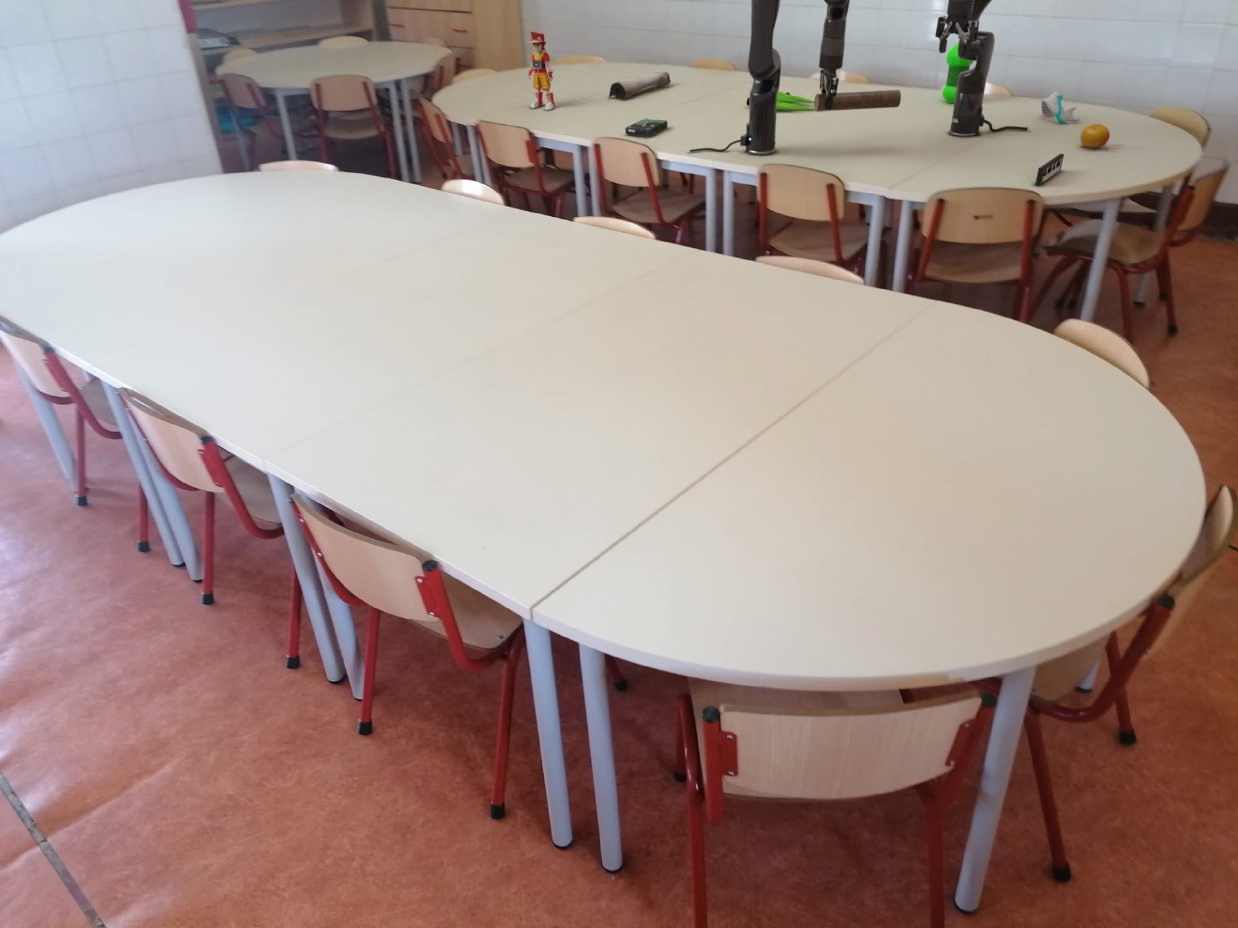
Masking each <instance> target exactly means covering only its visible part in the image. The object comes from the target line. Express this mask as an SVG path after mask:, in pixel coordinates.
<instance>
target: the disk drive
mask: <svg viewBox="0 0 1238 928" xmlns="http://www.w3.org/2000/svg"><path fill="white" fill-rule="evenodd" d="M667 128H668V120H663V119H652V118H651V119H650V118H643V119H640V120H639V121H636V122H634V123H633V124H630V125H628V126H626V127H625V129H624V130H625V135H629V136H637V137H651V136H653V135H655V134H657V133H659V132H661V131H663V130H665V129H667Z"/></svg>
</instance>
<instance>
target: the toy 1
mask: <svg viewBox="0 0 1238 928" xmlns="http://www.w3.org/2000/svg"><path fill="white" fill-rule="evenodd" d="M529 33H530V35H531V36H528V37H527V38H528V39H529V40H528V41H527V43H529V44H530V43H531V44H532V48H533V50H534V51H533V52H532V55H531V58H530V59H531V63H530V66H528V74H527V75H528V76H527V77H528V79H529V80H531V75H532V74H533V84H532V85H533V86H532V87H533V88H534V89H535V90H536V92H534V95H535V97H536V100H535V101H533V102H531V105H530V108H531V109H535V108H538V107H542V106H544V101H543V100H544V99H543V95H544V92H546V94H545V97H546V99H547V103H546V104H545V106H544V110H546V111H549V110H553V109H554V107H555V106H556V105H555V99H554V92H551V91H550V90H551V86H552V84H551V82H552V81H553V80H554V77H553V73H554V71H555V70H554V69H552V68H551V63H550V61H551V59H550V58H551V57H550V54H549V53H548V52H547V50H546V48H545V46H546V44H547V41H545V35H544V33H543V32H542V33H539V32H535V31H529Z"/></svg>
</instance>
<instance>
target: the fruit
mask: <svg viewBox="0 0 1238 928" xmlns="http://www.w3.org/2000/svg"><path fill="white" fill-rule="evenodd" d="M1110 135H1111V134H1110V130H1109V128H1108V127H1107V126H1106V125H1103V124H1101V123H1100V124H1099V123H1098V124H1097V123H1094V124H1090V125H1088V126H1086V127H1084V128H1083V130H1082V131H1081V133H1080V137H1079V139H1080V143H1081V146H1083V147H1085V148H1089V149H1100V148H1101V147H1104V146H1105V145H1106V144H1107V143H1108V141H1109V139H1110V138H1111V137H1110Z"/></svg>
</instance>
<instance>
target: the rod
mask: <svg viewBox="0 0 1238 928" xmlns="http://www.w3.org/2000/svg"><path fill="white" fill-rule="evenodd" d="M901 100H902V93H901V90H900V89H889V90H888V89H887V90H870V91H869V90H867V91H866V90H865V91H848V92H837V93H836V97H833V105H832V109H825V104H826V94H821V93H816V94H815V96H814V100H813V101H814V103H813V104H814V105H813V106H814V107H813V108H815V110H814V111H815V112H831V111H834V112H835V111H848V110H849V111H851V110H871V109H889V108H890V109H891V108H892V109H893V108H899V107H900V105H901Z"/></svg>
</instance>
